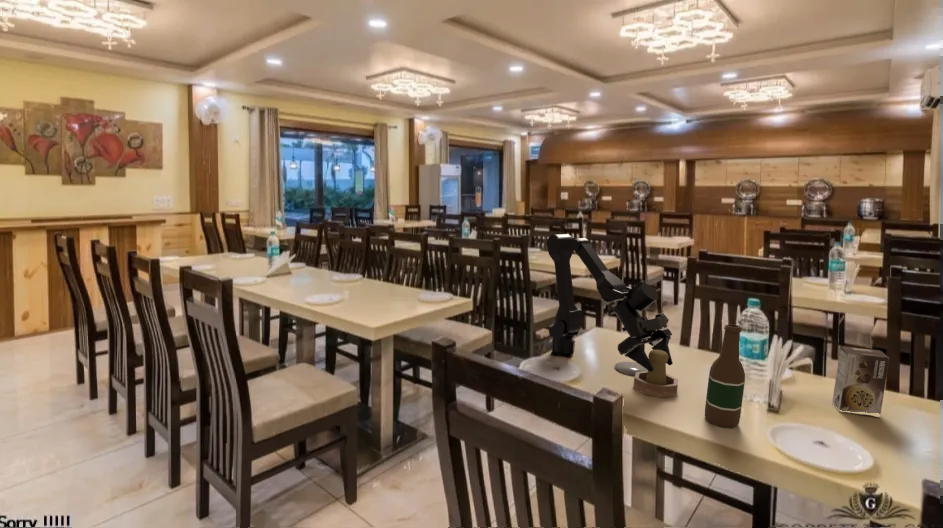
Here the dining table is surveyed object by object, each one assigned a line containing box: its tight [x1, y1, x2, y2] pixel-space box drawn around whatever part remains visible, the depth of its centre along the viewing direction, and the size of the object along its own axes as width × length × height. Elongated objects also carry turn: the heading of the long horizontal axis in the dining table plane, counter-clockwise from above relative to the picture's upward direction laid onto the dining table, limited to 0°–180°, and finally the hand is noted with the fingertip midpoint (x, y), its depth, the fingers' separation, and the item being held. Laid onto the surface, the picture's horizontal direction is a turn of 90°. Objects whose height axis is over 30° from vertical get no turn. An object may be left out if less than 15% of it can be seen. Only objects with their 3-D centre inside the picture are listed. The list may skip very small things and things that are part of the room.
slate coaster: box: [614, 361, 648, 377], centre depth 160 cm, size 11×11×1 cm
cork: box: [645, 349, 669, 385], centre depth 145 cm, size 6×6×11 cm
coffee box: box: [831, 345, 890, 414], centre depth 136 cm, size 9×6×16 cm
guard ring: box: [632, 371, 679, 398], centre depth 146 cm, size 11×11×3 cm
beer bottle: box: [704, 323, 746, 429], centre depth 125 cm, size 8×8×24 cm
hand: (662, 367), depth 144 cm, fingers open, 9 cm apart
